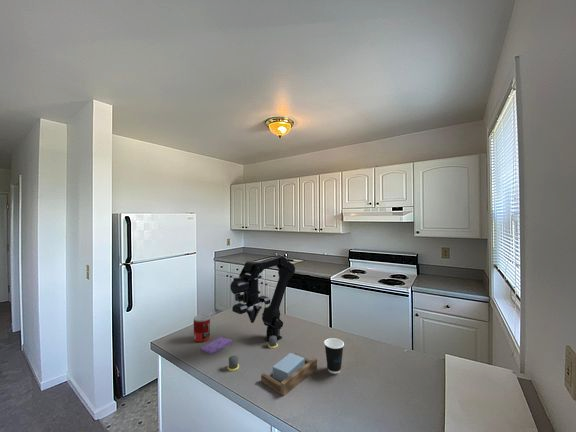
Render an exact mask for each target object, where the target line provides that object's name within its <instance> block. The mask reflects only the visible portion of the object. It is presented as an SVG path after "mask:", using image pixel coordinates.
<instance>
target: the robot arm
mask: <svg viewBox="0 0 576 432" xmlns="http://www.w3.org/2000/svg"><path fill="white" fill-rule="evenodd" d="M272 267H276V268H277V269H278V272H277V275H278V281H277V283H276V286H275V289H274V292H273V296H272V298H270V297H269V296H267V295H260V296H259V294H261V291H260V290H259V279H262V278H263V277H262V276H261V274H262V273H263V271H264V270H266V269H269V268H272ZM295 272H296V266H295V264H294V263H292V262H291V261H290V260H287V259H286V258H285V257H284V256H283V255H282V256H281V255H275V256H272V257H269V258H266V259H262V260H256V261H255V260H252V261H251V260H250V261H249V260H248V261H245V263H244V265H243V268H242V269H241V271H240V273H239V275H238V277H233V279H232V281H231V283H230V286H229V287H230V291H231V293H232V294H233V295H234V300H235V302H238V303H235V304H234V305H232V307H231V309H232V312H234V313H235V314H238V315H243V314H245V313H246V314H247V316H248V319H249V321H250V323H251V324H254V323H255V321H256V318H257V316H258V314H259V312H260V311H261V309H262V308H263V307H262V306H261V305H260V304H265V305H266V306H264V308H263V312H262V314H261V319H262V322H263V325H264V326H266V336H265V337H264V339H265V340H268V341H269V337H270V336H276V337H277V341H279V340H281V339H282V338H283V336H281V329H282V328H283V326H284V321H282V320H281V310H280V308H281V303H282V300H283V298H284V294H285V291H286V290H287V289H286V288H287V285H288V283H289V281H290V280H291V278H293V276H294V275H295V274H294V273H295ZM241 293H243V294H241ZM267 305H268V306H267Z"/></svg>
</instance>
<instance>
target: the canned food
mask: <svg viewBox="0 0 576 432" xmlns="http://www.w3.org/2000/svg"><path fill="white" fill-rule="evenodd" d="M210 338H211V316H210V315H209V314H197V315H196V316H194V317H193V340H194V341H195V342H196V343H205V342H207V341H209V340H210Z"/></svg>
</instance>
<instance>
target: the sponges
mask: <svg viewBox="0 0 576 432" xmlns="http://www.w3.org/2000/svg"><path fill="white" fill-rule="evenodd" d="M231 343H232V339H230V338H225V337H223V336H220V337H218V338H216V339H214V340H212V341H211V342H209V343H207V344H205V345H203V346H202V347H200V348H201V351H203V352H204V353H208V354H210V355H212V354H214V353H216V352H218V351H220V350H222V349H223V348H225V347H226V346H228V345H230V344H231Z"/></svg>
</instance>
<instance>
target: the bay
mask: <svg viewBox="0 0 576 432" xmlns="http://www.w3.org/2000/svg"><path fill="white" fill-rule="evenodd" d="M293 354H295V355H298V356H300V357H303V358H305V365H304V366H302V367H301V368H300V369H298V370H297V371H296V372H294V373H293V374H292V375H290V376H289V377H287V378H286V379H285V380H283V381H282V382H281V381H279V380H277V379H275V378H273V376H270V375H268V374H266V373H265V372H264V373H262V374H261V375H260V379H261V380H260V383H263V384H264V385H266V386H268V387H269V388H271V389H272V390H274V391H275V392H277V393H278V394H280V395H281V396H283V397H284V396H286V395H287V394H288V393H290V392H291V391H292V390H293V389H294V388H296V387H297V386H298V385H299V384H300V383H302V382H303V381H304V380H306V379H307V378H308V377H309V376H311V375H312V374H313V373H314V372H316V371H317V370H318V359H317V358H314V357H313V358H312V359H309V358H307V357H305V356H302V355H300V354H298V353H296V352H293Z"/></svg>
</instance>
